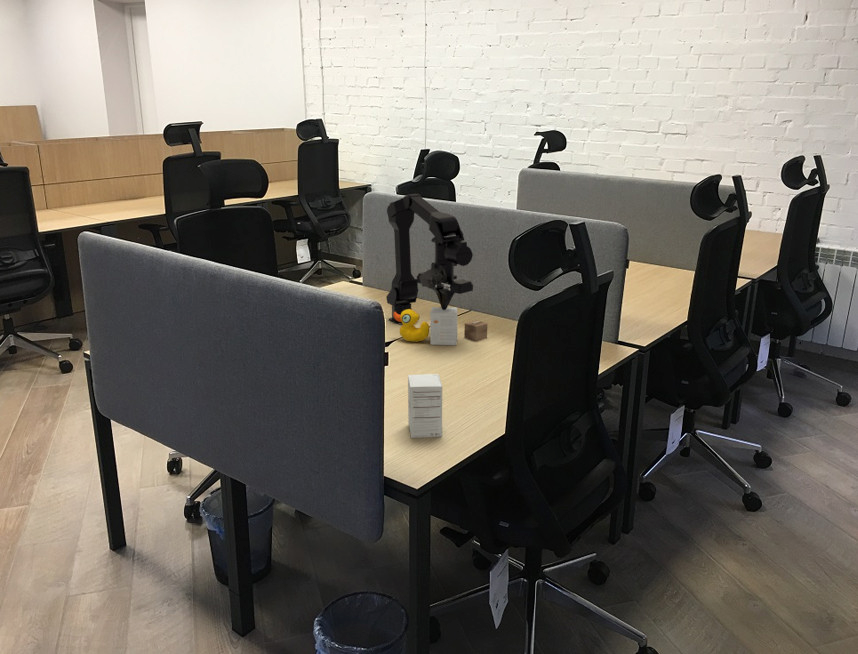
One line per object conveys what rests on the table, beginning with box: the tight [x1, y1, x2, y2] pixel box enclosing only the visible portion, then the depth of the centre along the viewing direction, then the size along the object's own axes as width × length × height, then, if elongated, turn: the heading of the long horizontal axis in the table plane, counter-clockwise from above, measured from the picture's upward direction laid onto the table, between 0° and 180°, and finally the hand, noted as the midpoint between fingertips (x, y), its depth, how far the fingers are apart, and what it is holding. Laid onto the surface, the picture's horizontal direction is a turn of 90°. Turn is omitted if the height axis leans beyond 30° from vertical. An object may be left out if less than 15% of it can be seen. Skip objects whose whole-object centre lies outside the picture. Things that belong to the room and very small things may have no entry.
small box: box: [429, 306, 458, 346], centre depth 228 cm, size 8×6×10 cm
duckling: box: [393, 309, 430, 343], centre depth 229 cm, size 11×5×10 cm, turn 75°
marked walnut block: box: [463, 319, 488, 343], centre depth 232 cm, size 5×5×5 cm
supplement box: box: [407, 373, 443, 439], centre depth 170 cm, size 7×7×13 cm
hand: (444, 309), depth 226 cm, fingers closed, pressing on small box
